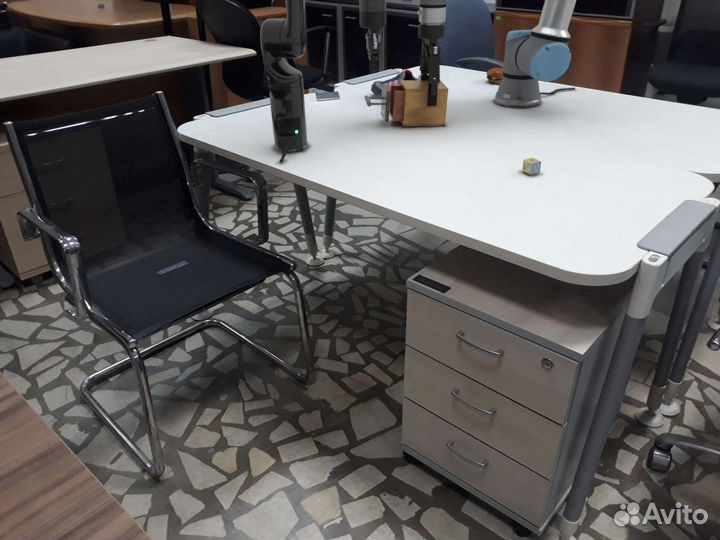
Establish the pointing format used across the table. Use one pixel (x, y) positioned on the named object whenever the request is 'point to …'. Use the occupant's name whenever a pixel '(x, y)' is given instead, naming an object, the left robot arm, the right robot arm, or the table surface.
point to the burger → (495, 75)
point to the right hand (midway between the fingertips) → (428, 101)
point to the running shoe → (393, 81)
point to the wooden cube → (423, 104)
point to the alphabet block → (531, 166)
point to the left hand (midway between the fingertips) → (373, 72)
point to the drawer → (390, 102)
